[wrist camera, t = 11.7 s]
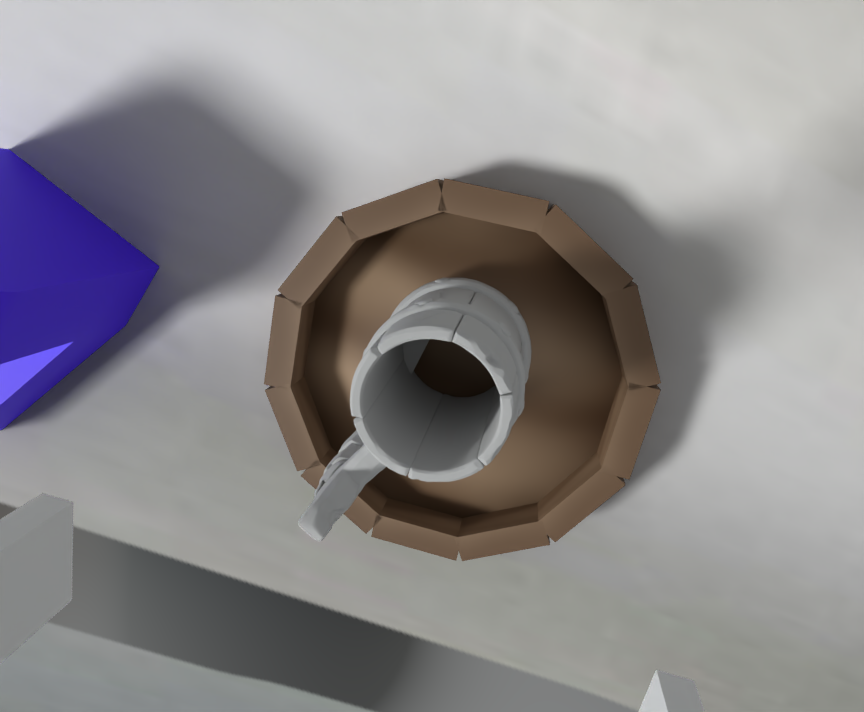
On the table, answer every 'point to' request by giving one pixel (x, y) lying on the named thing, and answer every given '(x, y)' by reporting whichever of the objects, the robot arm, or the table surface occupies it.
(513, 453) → the tray
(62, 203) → the bracket
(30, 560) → the robot arm
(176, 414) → the table surface
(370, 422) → the mug
